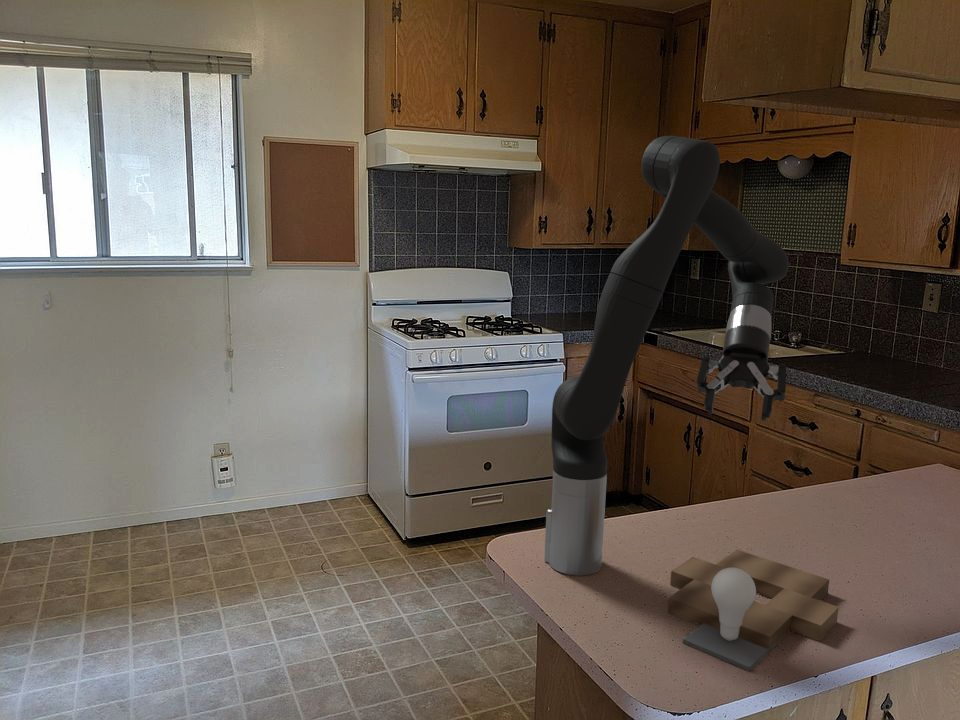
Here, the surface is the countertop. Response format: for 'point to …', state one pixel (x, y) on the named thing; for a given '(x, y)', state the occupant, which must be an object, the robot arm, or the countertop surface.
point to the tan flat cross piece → (761, 624)
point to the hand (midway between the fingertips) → (736, 415)
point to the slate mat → (726, 647)
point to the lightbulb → (732, 599)
